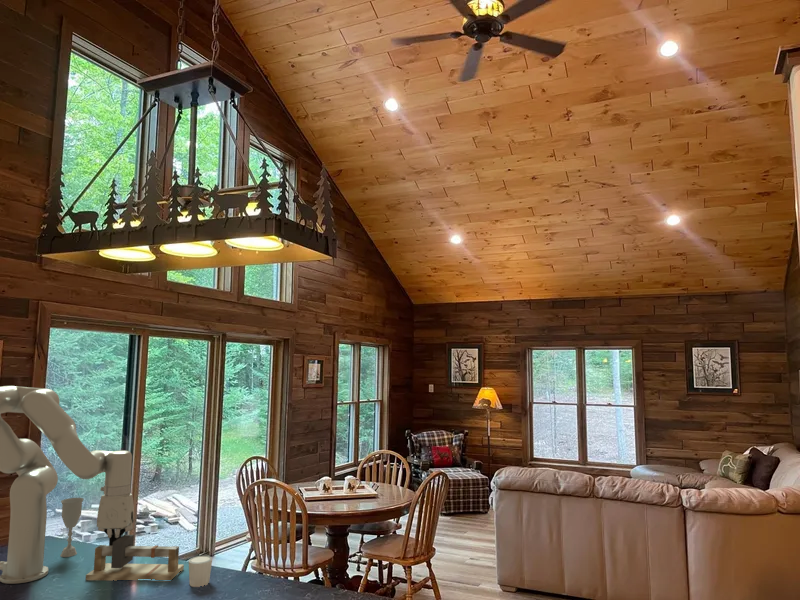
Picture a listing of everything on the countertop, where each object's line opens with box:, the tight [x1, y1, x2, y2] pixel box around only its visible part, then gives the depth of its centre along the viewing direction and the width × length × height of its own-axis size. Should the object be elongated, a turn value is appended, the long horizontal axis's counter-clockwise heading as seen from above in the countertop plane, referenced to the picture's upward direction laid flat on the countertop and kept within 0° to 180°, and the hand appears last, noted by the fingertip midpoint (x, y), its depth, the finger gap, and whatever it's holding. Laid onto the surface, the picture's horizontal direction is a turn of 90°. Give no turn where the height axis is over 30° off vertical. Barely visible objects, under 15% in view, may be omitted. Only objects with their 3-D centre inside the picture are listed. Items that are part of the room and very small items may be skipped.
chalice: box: [59, 497, 84, 558], centre depth 197 cm, size 7×7×18 cm
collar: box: [111, 534, 135, 568], centre depth 179 cm, size 3×8×8 cm, turn 0°
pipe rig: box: [85, 544, 185, 582], centre depth 179 cm, size 26×10×8 cm, turn 90°
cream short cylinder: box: [188, 555, 213, 588], centre depth 173 cm, size 7×7×7 cm
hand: (114, 549), depth 182 cm, fingers closed
